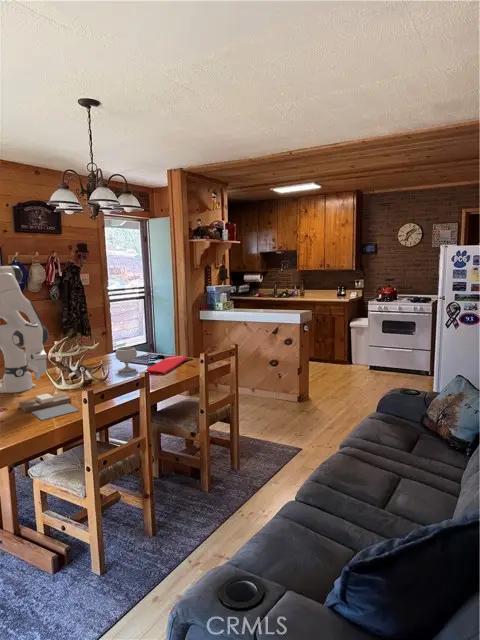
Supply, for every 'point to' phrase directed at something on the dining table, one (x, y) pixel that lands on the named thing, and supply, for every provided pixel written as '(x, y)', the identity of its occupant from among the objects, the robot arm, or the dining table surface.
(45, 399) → the tile
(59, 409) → the mat
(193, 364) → the dining table surface
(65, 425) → the dining table surface
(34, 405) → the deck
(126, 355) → the chalice
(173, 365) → the dish drying mat
